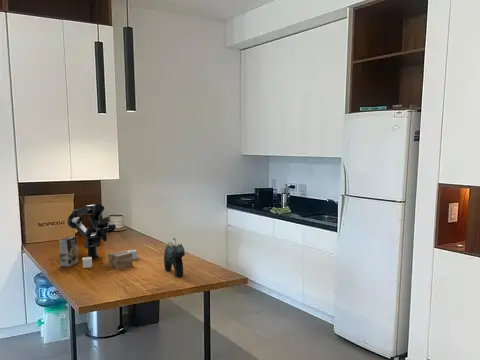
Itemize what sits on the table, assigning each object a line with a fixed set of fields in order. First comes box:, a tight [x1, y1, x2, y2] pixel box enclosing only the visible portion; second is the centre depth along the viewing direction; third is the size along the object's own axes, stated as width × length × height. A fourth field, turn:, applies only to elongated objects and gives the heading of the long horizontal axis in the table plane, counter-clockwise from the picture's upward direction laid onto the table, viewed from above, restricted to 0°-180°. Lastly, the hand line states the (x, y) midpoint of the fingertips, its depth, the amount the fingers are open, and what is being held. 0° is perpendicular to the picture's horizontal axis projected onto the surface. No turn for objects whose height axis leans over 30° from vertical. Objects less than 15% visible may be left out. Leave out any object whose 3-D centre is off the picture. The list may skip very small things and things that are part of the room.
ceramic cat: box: [163, 238, 186, 279], centre depth 241 cm, size 20×6×20 cm, turn 32°
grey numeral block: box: [127, 249, 138, 261], centre depth 277 cm, size 5×5×5 cm
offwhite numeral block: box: [82, 256, 93, 269], centre depth 261 cm, size 5×5×5 cm
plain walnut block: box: [107, 250, 133, 270], centre depth 261 cm, size 10×10×8 cm
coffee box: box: [58, 236, 79, 267], centre depth 266 cm, size 9×6×16 cm
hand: (106, 241), depth 271 cm, fingers closed
